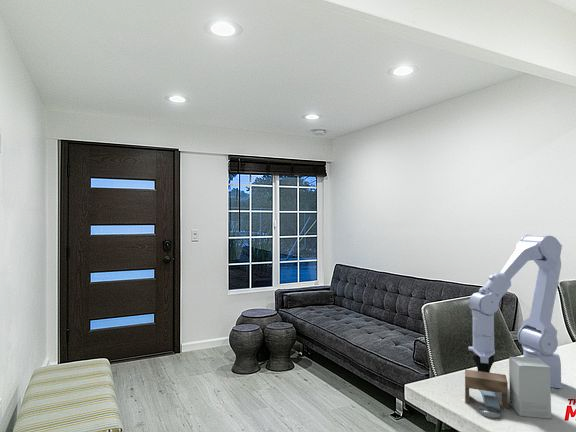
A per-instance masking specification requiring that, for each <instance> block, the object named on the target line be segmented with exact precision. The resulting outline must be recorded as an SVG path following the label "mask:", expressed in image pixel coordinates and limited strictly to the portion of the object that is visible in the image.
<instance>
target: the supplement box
mask: <svg viewBox="0 0 576 432" xmlns="http://www.w3.org/2000/svg"><path fill="white" fill-rule="evenodd" d="M508 357H509V358H508V359H509V361H508V362H509V363H508V364H509V366H508V367H509V369H508V374H509V376H508V377H509V405H510V406H511V407H512V408H513V410H514V411H515V412H516V413H517V414H518V415H519V417H528V418H537V419H550V420H551V419H552V398H551V397H552V395H551V394H552V390H551V389H552V387H551V381H550V367H549V366H548V365H547V364H545V363H544V362H543V361H541V360H540V359H539V358H529V357H524V356H508Z"/></svg>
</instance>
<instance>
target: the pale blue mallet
mask: <svg viewBox="0 0 576 432" xmlns="http://www.w3.org/2000/svg"><path fill="white" fill-rule="evenodd" d="M479 391H480V394H481V397H482V400H483V403H484V406H490V407H494V408H497V409H499V410H500V409H501V408H500V407H501V406H500V403H499V400H498V398H497V396H496V392H491V391H484V390H479ZM500 411H501V410H500Z"/></svg>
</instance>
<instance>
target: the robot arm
mask: <svg viewBox="0 0 576 432" xmlns="http://www.w3.org/2000/svg"><path fill="white" fill-rule="evenodd" d="M515 247H516V248H515V250H514V252H513V253H512V254H511V255H510V257H509V259H508V260H507V262H506V263H505V264H504V266H502V268H501V270H500V271H499V272H495V273H493V274H489V276H488V277H487V278H488V280H487V281H486V282H485V283H484V284H483V285H482V287H480V288H479V289H478V292H474V293H472V294H471V296H470V298H469V300H468V301H467V304H468V307H469V308H470V311H471V315H472V346H470V345H469V346H468V351H471V352H473V353H472V359H473V361H474V362H475V365H476V369H477V371H481V372H488V373H491V369H492V366H493V364H494V363H495V356H494V355H495V353H496V350H495V320H494V319H495V313H497V312H498V310H499V307H500V302H501V299H502V298H503V297H504V295H505V294H506V293H507V291H509V289H510V287H511V286H512V278H514V276H515V275H517V273H519V272H520V270H521V269H522V268H523V267H524V266H525V265H526V264H527V263H528V262H530V261H533V262H534V263H535V264H536V265H537V267H538V271H537V275H536V283H535V288H534V293H533V298H532V303H531V307H530V308H531V309H530V314H529V317H527V318H526V319H524V320H523V321H522V323H521V327H520V329H519V330H518V332H517V334H516V335H517V341H518V342H519V343H520V344H521V348H522V350H523V357H529V358H539V359H540V360H541V361H543V362H544V363H545V364H547V365H548V366H549V367H550V381H551V388H553V389H554V388H555V389H563V387H562V362H561V357H560V355H559V354H558V353H555V352H556V350H557V349H558V346H559V344H558V343H559V342H558V336H557V335H558V330H557V329H556V327H555V326H554V325H553V324H552V318H553V313H554V312H553V310H554V307H555V301H556V298H557V297H556V296H557V291H558V285H559V280H560V274H561V269H562V259H561V253H562V249H563V245H562V243H560V241H559V240H558V238H557V237H555V236H553V235H532V234H526V235H523V236H522V237H521V238H520V240H519V241H518V242H517V243H516V244H515Z"/></svg>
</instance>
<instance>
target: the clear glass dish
mask: <svg viewBox="0 0 576 432" xmlns="http://www.w3.org/2000/svg"><path fill="white" fill-rule="evenodd" d="M478 411H479V414H480V415H481V416H483V417H484V418H488V419H492V420H499V419H502V410H499V409H497V408H494V407H490V406H485V405H483V406H480V407H479V410H478Z"/></svg>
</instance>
